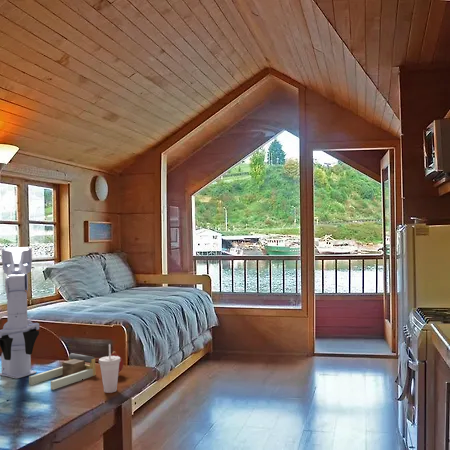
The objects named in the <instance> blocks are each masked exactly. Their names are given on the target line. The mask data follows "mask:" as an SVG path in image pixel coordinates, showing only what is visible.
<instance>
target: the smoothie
mask: <svg viewBox="0 0 450 450" xmlns="http://www.w3.org/2000/svg"><path fill="white" fill-rule="evenodd" d="M111 347H112V346H111V343H109V344H108V356H107V355H106V356H102V357H100V358H99V359H98V364H99V365H100V366H99V367H100V373H101V378H102V379H101V381H102V387H103V392H104V393H108V394H112V393H115V392H117V391H118V390H117V389H118V382H119V381H118V379H119V373H120V372H119V362H120V357H121V356H120V357H118V356H111V355H112V353H111V350H112V349H111ZM118 372H119V373H118Z"/></svg>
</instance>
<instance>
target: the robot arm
mask: <svg viewBox="0 0 450 450" xmlns="http://www.w3.org/2000/svg"><path fill="white" fill-rule="evenodd" d="M32 249H33V248H32V247H31V246H20V247H18V246H16V247H4V246H3V247H2V249H1V263H2V271H3V274H6V276H5V278H4V279H5V280H4V283H5V285H4V286H5V289H4V290H5V294H6V300H7V301H6V305H7V307H6V311H7V312H6V313H7V321H6V322H5V323H4V324H3V326H2V329H0V349H1V356H0V357H1V358H0V361H1V373H0V376H2V377H7V378H12V379H21V378H24V377H27V376H32V375H35V374H36V373H37V370H32V366H31V364H32V362H31V360H32V358H31V357H32V356H31V355H32V354H33V350H34V346H35V342H36V340H37V338H38V336H39V335H40V323H38V322H33V321H31V320H30V319H29V318H28V292H29V277H28V276H29V275H28V274H29V273H30V272H32V268H33V265H32V263H33V252H32ZM37 374H38V373H37Z"/></svg>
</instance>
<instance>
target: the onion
mask: <svg viewBox="0 0 450 450" xmlns="http://www.w3.org/2000/svg"><path fill="white" fill-rule="evenodd" d="M111 356H118V357H120V362H119V372H118V374H119V373H120V372H121V371H122V370H123V369H124V361H123V358H122V357H121V356H120V355H118V354H117V351H114V350H113V351H112V353H111Z"/></svg>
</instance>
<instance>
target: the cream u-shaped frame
mask: <svg viewBox="0 0 450 450" xmlns="http://www.w3.org/2000/svg"><path fill="white" fill-rule="evenodd" d="M72 359H78V360H84V361H85V370H83V371H80V372H77V373H74V374H71V375H68V376H65V377H63V366H62V365H61V366H60V367H56V368H53V369H50V370H47V371H42V372H39V373H37V374H36V373H35V374H32V375H28V384H29V385H32V386H33V385H35V384H38V383H39V384H40V383H43V382H45V381H48V380H50V390H56V389H60V388H63V387H65V386H68V385H72V384H73V383H77V382H81V381H83V380H86V379H89V378H91V377H94V376H96V375H97V374H96V358H95V356H91V355H86V354H78V353H74V352H73V353H72V352H71V353H69V355H68V360H72ZM86 363H89V364H86ZM60 376H62V377H60ZM57 377H59V378H57ZM54 378H57V379H54ZM52 379H54V380H52ZM82 379H83V380H82Z"/></svg>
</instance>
